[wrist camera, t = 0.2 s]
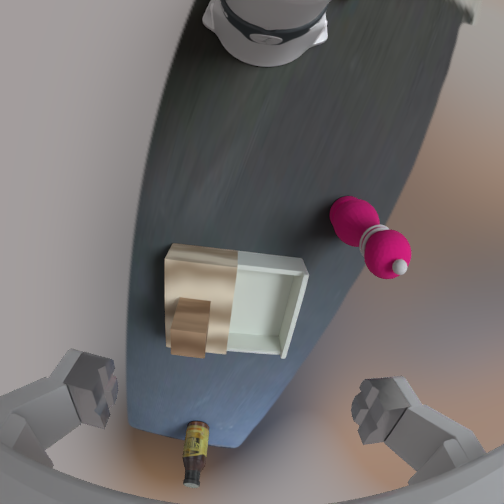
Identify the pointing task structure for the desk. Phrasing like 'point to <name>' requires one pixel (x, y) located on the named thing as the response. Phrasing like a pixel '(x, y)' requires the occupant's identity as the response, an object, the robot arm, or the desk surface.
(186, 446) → the sauce bottle
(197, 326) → the walnut block
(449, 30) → the desk surface
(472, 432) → the robot arm
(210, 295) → the beige box sleeve
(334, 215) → the pepper mill
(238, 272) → the tray
